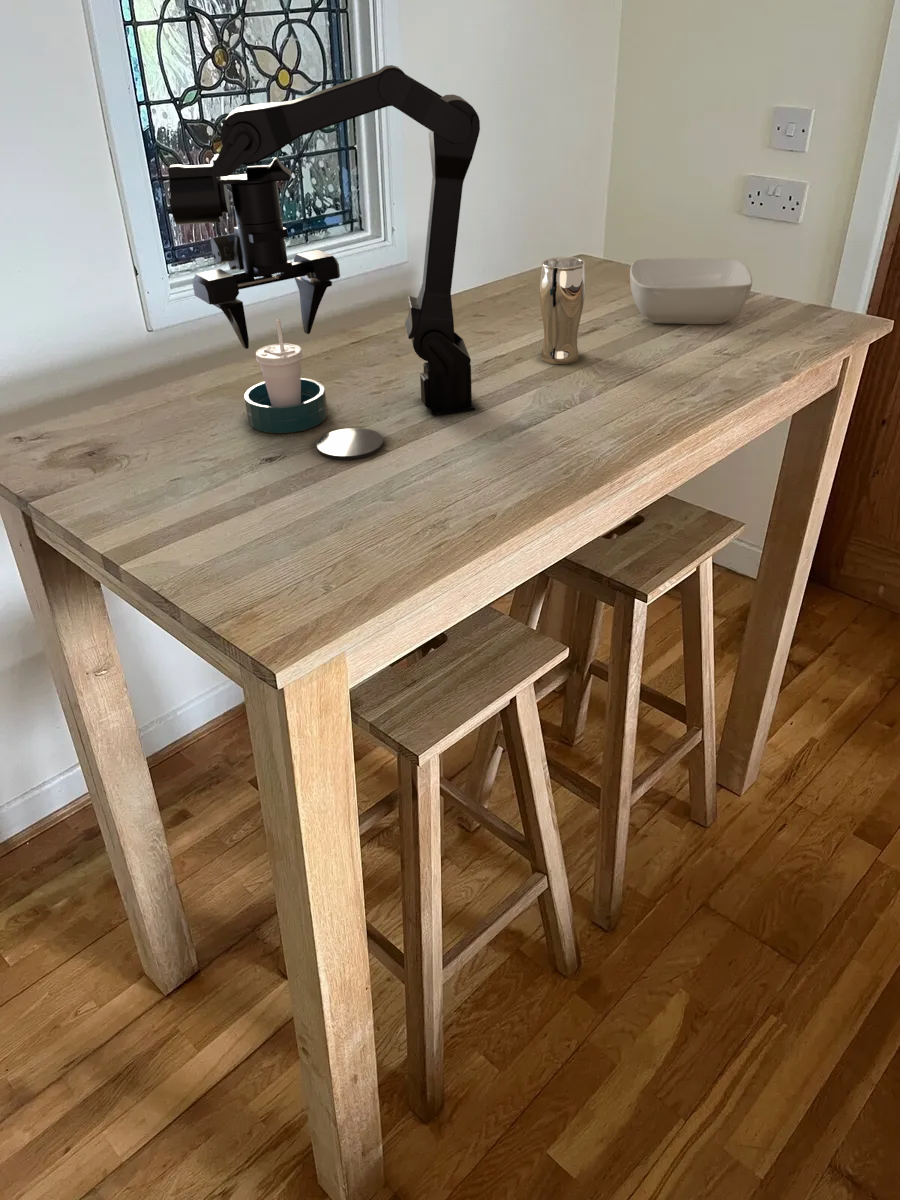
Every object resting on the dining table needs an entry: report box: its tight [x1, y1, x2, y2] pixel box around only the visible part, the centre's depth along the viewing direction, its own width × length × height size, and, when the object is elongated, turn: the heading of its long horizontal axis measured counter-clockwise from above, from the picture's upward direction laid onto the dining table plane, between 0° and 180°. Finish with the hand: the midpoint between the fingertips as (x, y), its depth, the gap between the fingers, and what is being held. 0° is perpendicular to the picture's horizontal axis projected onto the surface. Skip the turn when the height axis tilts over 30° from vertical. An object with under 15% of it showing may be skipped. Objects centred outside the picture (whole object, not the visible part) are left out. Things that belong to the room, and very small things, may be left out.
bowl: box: [629, 257, 753, 325], centre depth 162 cm, size 20×20×8 cm
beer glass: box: [539, 256, 586, 365], centre depth 143 cm, size 7×7×15 cm
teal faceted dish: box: [243, 377, 328, 434], centre depth 130 cm, size 11×11×4 cm
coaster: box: [315, 427, 385, 461], centre depth 122 cm, size 9×9×1 cm
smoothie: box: [255, 318, 304, 406], centre depth 127 cm, size 6×6×14 cm
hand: (277, 340), depth 125 cm, fingers open, 9 cm apart
